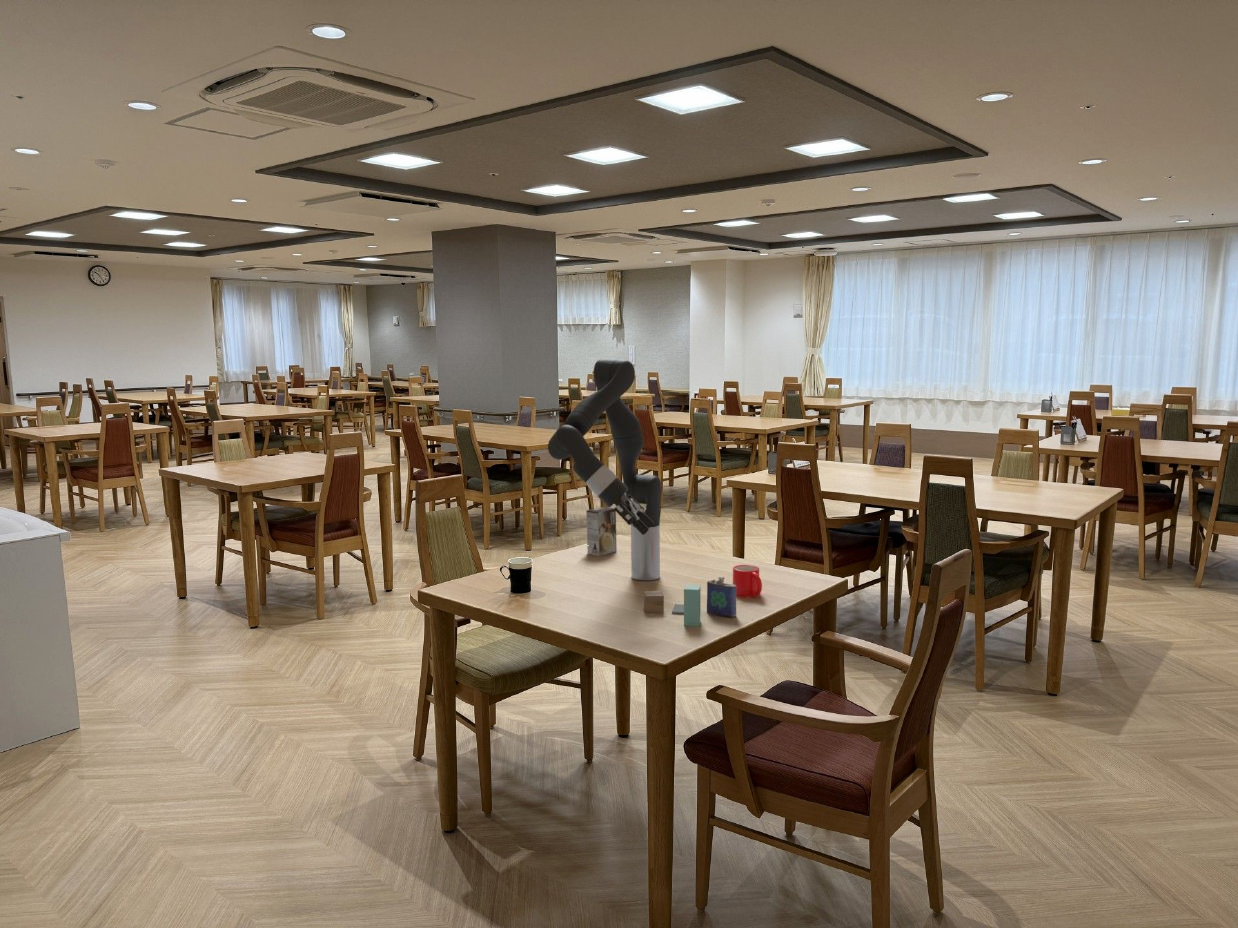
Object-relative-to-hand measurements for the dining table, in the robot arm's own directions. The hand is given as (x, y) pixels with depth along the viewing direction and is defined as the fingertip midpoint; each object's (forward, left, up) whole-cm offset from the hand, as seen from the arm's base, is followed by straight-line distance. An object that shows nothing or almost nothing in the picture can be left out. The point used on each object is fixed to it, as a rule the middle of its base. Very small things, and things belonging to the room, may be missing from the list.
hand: (649, 529), depth 232 cm
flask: (-9, +19, -26) cm, 33 cm away
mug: (-29, +26, -26) cm, 47 cm away
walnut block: (-10, 0, -26) cm, 28 cm away
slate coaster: (-11, +9, -26) cm, 30 cm away
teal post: (0, +12, -26) cm, 28 cm away
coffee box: (-74, -29, -26) cm, 84 cm away
